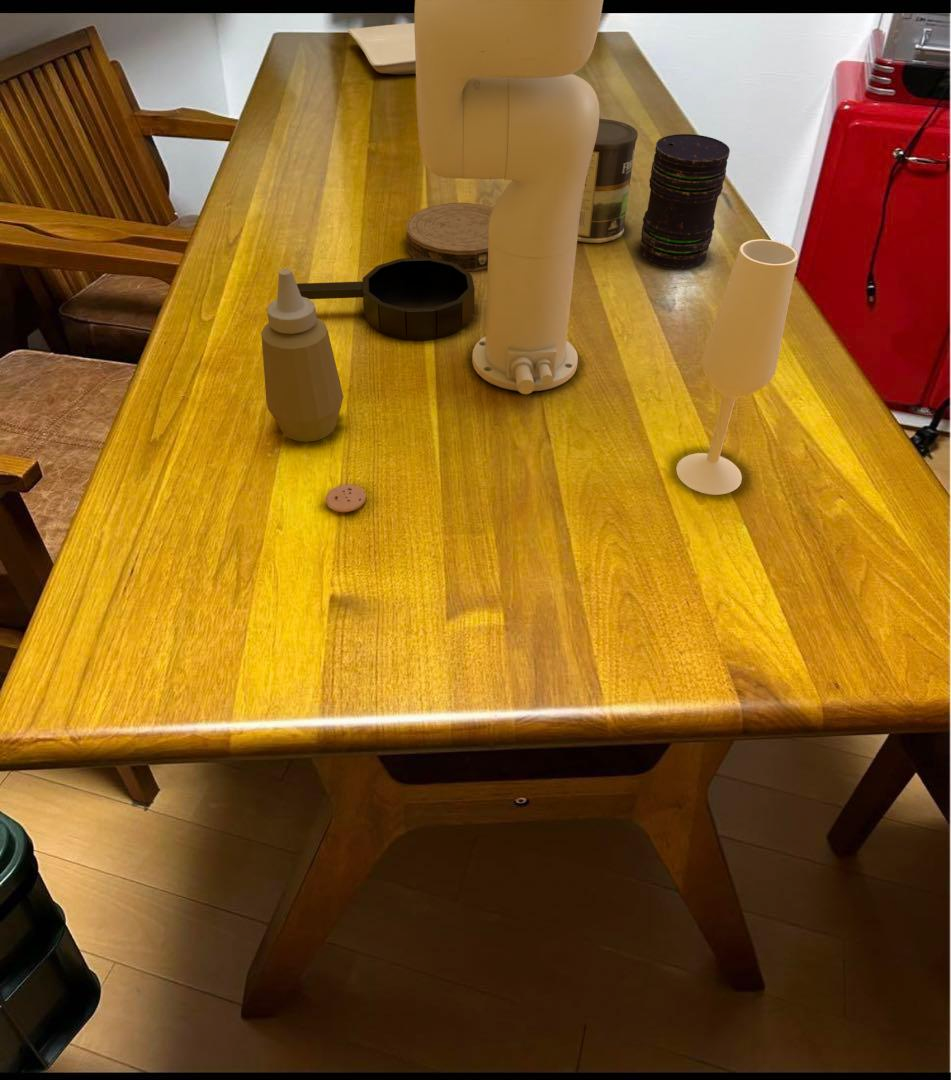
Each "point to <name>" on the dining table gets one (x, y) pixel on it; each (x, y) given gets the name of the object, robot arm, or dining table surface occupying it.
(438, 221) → the brown flat disc
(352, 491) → the cookie
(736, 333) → the champagne flute
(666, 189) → the dark brown cylinder
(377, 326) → the frying pan
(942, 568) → the dining table surface
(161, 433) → the dining table surface
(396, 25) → the square plate
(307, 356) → the squeeze bottle
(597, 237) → the coffee can
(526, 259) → the robot arm
